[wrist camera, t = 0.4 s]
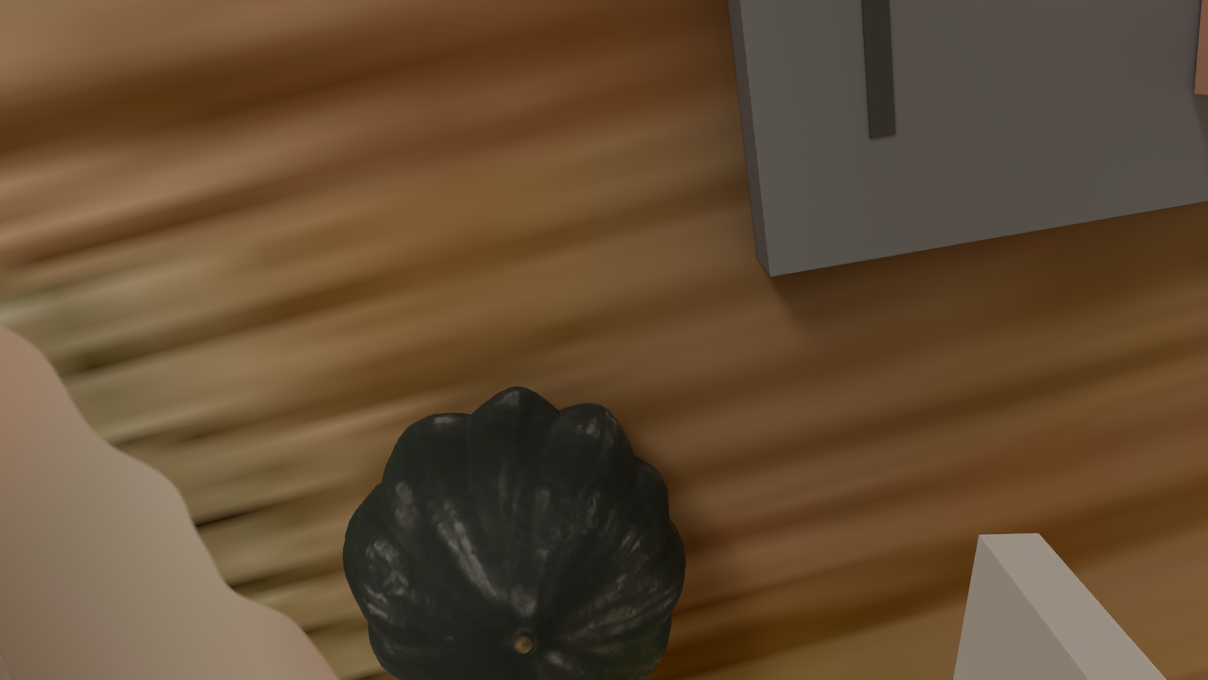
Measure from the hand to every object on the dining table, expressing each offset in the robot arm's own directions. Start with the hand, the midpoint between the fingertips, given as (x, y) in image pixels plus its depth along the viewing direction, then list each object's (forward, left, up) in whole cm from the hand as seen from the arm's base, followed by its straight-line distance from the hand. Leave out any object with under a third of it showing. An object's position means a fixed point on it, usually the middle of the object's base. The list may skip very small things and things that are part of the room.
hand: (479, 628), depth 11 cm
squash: (+14, -5, -27) cm, 31 cm away
